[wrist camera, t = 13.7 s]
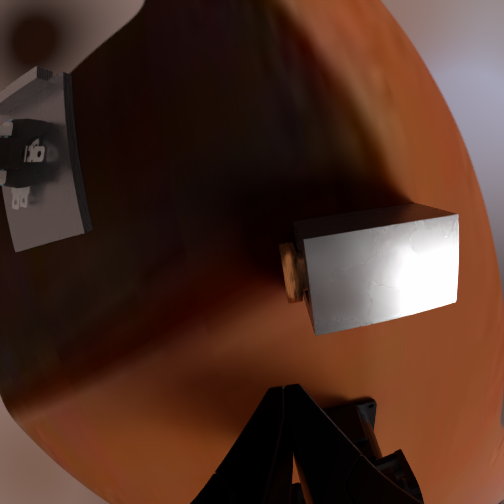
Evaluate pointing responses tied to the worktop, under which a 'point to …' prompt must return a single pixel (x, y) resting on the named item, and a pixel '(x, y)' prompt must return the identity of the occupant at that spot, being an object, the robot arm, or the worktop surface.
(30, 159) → the push button
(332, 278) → the block
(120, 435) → the worktop surface
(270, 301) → the worktop surface
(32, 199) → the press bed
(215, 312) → the worktop surface
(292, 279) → the press pin
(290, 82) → the worktop surface
